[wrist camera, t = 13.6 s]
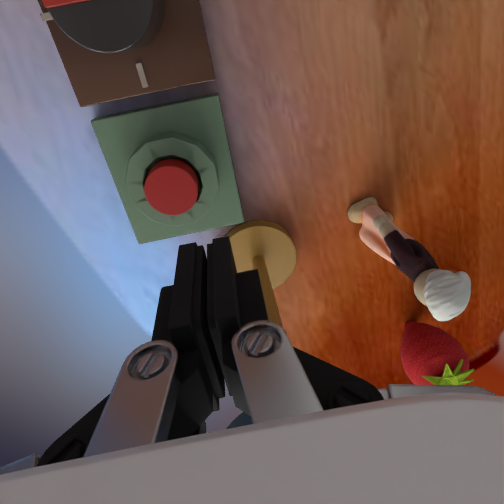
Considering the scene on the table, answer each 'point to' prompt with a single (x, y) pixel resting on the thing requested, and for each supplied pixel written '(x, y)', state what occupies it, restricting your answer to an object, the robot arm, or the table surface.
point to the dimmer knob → (108, 22)
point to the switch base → (172, 147)
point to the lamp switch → (171, 187)
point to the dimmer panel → (139, 58)
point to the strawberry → (433, 356)
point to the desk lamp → (263, 266)
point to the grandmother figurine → (412, 261)
